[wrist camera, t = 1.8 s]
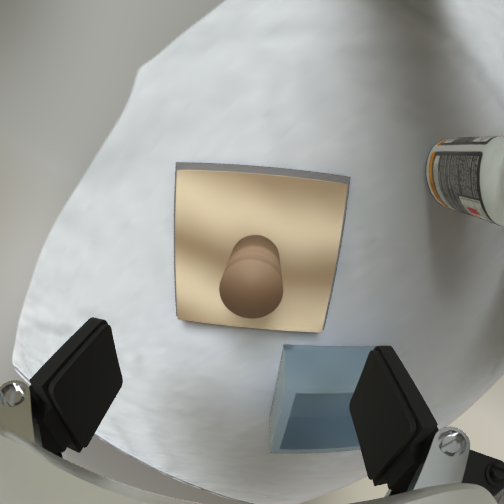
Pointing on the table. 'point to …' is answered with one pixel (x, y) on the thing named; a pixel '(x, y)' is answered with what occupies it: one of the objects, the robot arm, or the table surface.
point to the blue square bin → (316, 399)
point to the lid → (256, 248)
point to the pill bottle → (469, 176)
